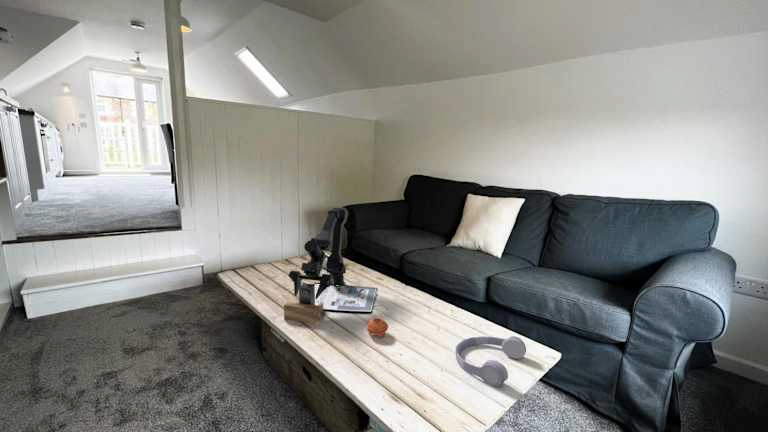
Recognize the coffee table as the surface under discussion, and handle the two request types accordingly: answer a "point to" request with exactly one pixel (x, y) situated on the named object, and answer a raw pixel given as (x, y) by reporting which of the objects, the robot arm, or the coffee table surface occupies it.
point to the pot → (377, 327)
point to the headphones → (492, 369)
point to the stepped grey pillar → (307, 294)
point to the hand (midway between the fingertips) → (305, 297)
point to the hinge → (325, 261)
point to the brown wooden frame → (303, 312)
